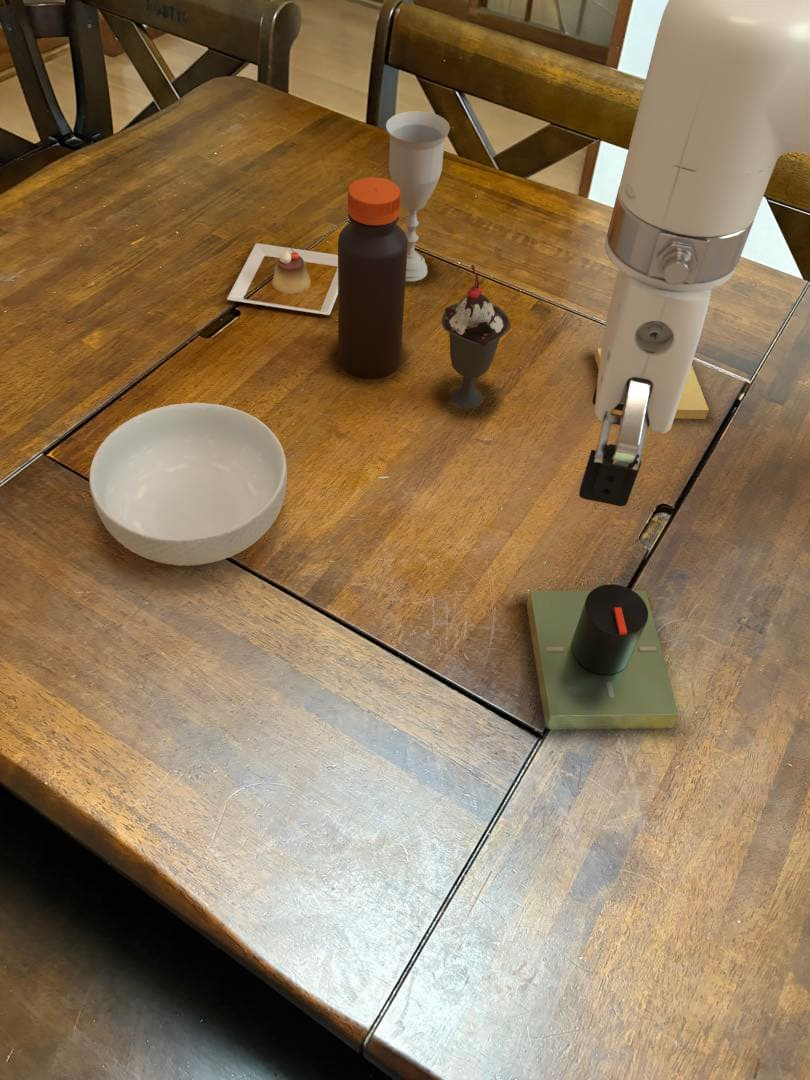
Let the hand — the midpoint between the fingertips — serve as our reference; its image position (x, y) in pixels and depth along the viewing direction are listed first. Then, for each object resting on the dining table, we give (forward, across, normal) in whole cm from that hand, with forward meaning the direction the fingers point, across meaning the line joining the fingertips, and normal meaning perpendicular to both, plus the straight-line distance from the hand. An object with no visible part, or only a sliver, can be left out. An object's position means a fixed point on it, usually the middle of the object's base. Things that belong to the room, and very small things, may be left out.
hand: (607, 450), depth 64 cm
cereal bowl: (+20, +2, +33) cm, 39 cm away
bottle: (+19, +28, +24) cm, 42 cm away
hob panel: (+19, -5, -4) cm, 20 cm away
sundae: (+19, +25, +13) cm, 34 cm away
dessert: (+19, +39, +36) cm, 57 cm away
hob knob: (+17, -5, -4) cm, 18 cm away
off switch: (+19, +32, -6) cm, 38 cm away
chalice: (+19, +46, +24) cm, 55 cm away
